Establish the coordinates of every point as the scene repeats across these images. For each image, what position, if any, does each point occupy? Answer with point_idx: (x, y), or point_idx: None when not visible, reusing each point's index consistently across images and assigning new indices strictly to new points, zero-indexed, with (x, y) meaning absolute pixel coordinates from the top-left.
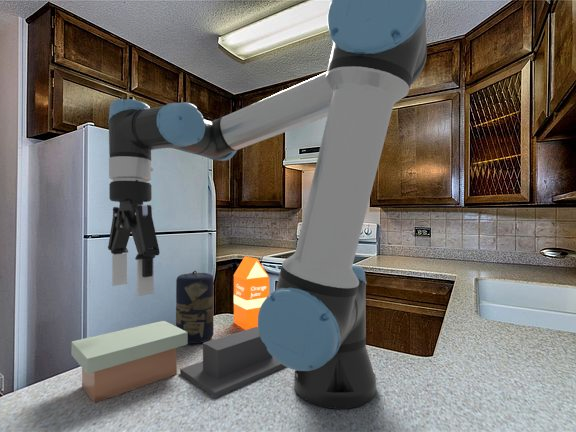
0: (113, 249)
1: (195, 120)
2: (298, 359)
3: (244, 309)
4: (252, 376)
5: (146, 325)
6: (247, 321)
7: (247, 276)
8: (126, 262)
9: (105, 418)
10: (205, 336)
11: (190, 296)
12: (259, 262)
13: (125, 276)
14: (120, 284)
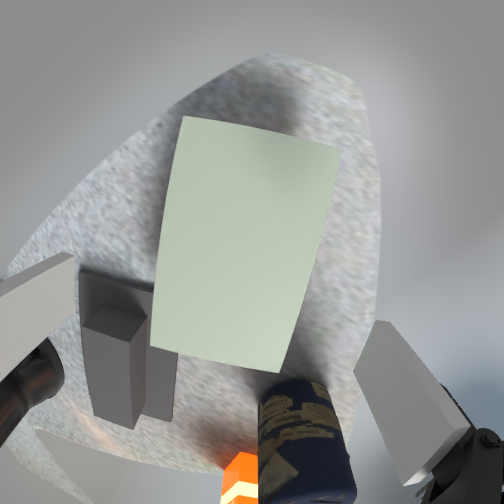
0: (474, 456)
1: None
2: None
3: (247, 481)
4: (81, 333)
5: (284, 330)
6: (238, 464)
7: None
8: (388, 443)
9: (158, 140)
10: (258, 407)
11: (280, 459)
12: None
13: (367, 388)
14: (364, 348)
